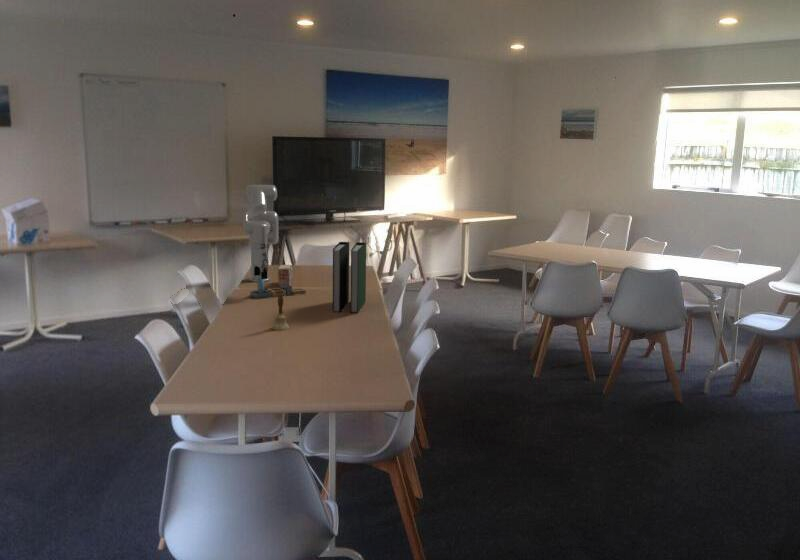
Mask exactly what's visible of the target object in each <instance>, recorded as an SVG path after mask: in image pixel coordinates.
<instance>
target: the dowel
mask: <svg viewBox="0 0 800 560" xmlns="http://www.w3.org/2000/svg"><path fill="white" fill-rule="evenodd" d="M264 290H265V281H264V279H261V277H258V282H257V291H258V294H263V293H264Z"/></svg>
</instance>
